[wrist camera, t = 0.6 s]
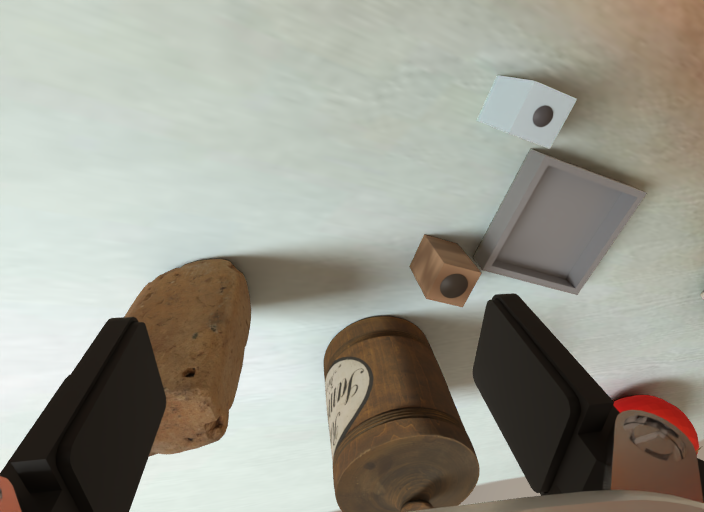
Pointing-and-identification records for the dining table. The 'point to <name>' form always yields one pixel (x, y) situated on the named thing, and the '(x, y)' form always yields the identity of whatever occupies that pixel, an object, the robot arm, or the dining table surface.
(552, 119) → the grey rectangular block
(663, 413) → the tomato
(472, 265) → the walnut block
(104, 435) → the robot arm
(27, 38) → the dining table surface
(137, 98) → the dining table surface
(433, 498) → the wooden container
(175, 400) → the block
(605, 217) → the tray
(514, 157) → the dining table surface
